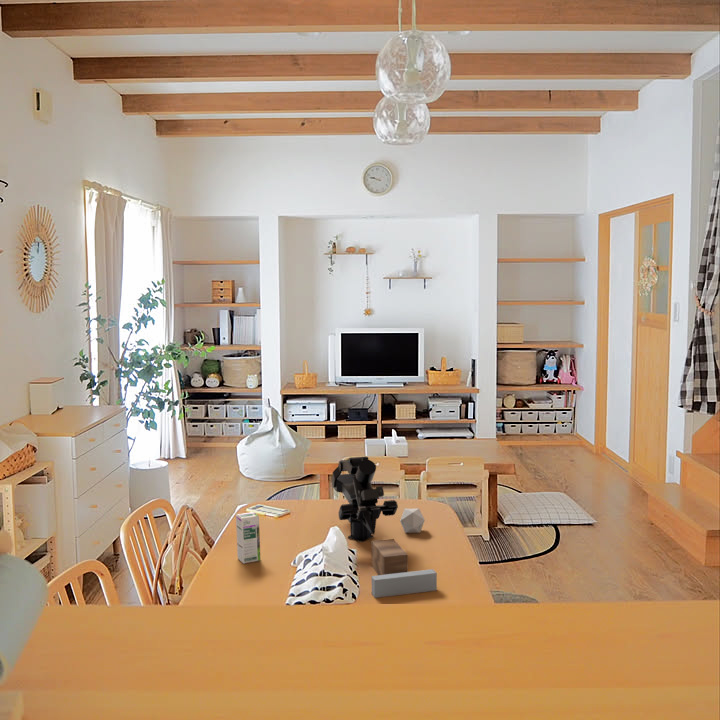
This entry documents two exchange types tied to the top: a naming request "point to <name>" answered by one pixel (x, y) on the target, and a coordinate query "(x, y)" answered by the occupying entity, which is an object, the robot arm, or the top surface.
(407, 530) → the die
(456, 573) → the top surface
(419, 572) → the board
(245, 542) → the syrup box
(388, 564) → the walnut block
